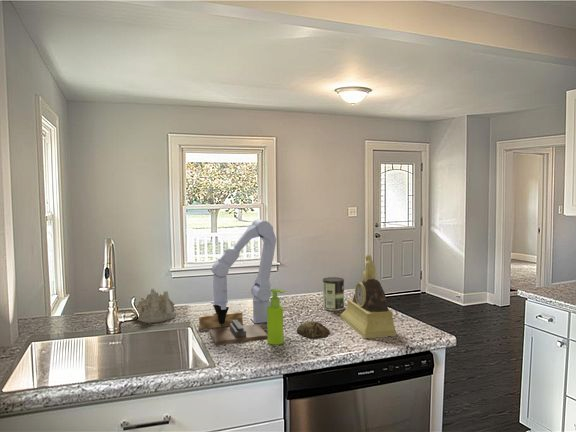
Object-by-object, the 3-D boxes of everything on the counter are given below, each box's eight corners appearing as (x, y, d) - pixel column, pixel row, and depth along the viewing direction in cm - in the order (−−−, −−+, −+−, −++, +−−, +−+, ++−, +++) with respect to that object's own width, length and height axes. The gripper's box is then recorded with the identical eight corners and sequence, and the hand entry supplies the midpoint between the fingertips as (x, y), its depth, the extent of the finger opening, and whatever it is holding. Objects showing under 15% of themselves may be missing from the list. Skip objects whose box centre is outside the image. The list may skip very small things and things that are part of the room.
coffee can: (343, 305, 214) (342, 276, 213) (345, 310, 203) (345, 281, 202) (322, 305, 214) (321, 277, 213) (323, 311, 203) (323, 281, 203)
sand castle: (180, 317, 195) (177, 284, 195) (143, 325, 186) (140, 291, 185) (168, 312, 208) (165, 281, 208) (133, 319, 199) (130, 287, 198)
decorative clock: (340, 318, 192) (340, 251, 190) (367, 316, 194) (367, 250, 193) (364, 339, 164) (364, 260, 163) (396, 336, 167) (395, 259, 165)
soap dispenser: (280, 346, 157) (279, 292, 156) (264, 342, 161) (263, 289, 160) (288, 341, 162) (287, 288, 161) (273, 338, 166) (272, 286, 165)
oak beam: (241, 322, 187) (240, 310, 187) (242, 324, 184) (242, 312, 184) (199, 326, 181) (198, 315, 181) (200, 329, 179) (199, 317, 178)
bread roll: (293, 331, 175) (293, 319, 175) (320, 327, 180) (320, 315, 180) (307, 340, 164) (307, 328, 163) (335, 336, 168) (335, 323, 168)
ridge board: (257, 326, 180) (257, 316, 180) (267, 338, 166) (267, 326, 166) (209, 332, 174) (209, 321, 174) (215, 344, 160) (215, 332, 159)
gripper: (208, 287, 188) (209, 318, 188) (213, 295, 174) (214, 328, 175) (224, 286, 190) (225, 316, 191) (230, 293, 176) (231, 326, 177)
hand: (221, 322), depth 183 cm, fingers closed on oak beam, 3 cm apart
